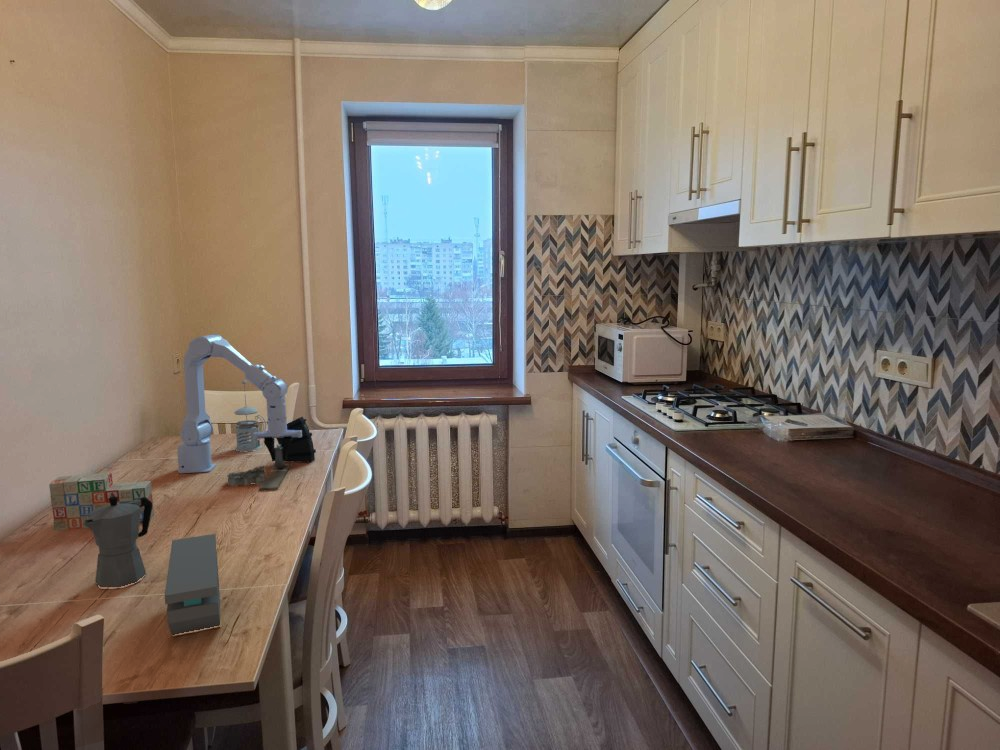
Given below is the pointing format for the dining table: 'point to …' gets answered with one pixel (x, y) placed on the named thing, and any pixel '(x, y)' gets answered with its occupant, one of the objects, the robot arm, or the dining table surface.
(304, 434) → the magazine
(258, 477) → the egg carton
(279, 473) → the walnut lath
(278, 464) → the awl peg
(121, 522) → the coffeepot
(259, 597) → the dining table surface
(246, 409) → the french press
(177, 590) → the grey slotted box
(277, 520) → the dining table surface
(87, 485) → the stack of blocks
